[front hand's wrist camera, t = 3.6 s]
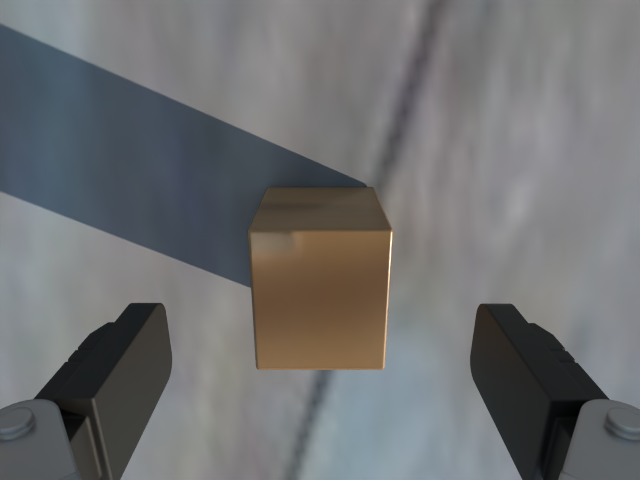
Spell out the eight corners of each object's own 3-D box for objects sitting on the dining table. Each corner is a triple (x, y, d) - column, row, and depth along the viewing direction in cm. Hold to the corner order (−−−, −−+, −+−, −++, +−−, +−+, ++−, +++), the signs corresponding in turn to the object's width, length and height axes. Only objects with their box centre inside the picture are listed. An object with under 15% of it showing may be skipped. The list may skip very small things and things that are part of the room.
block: (369, 297, 18) (384, 371, 14) (271, 297, 18) (255, 371, 14) (373, 186, 17) (393, 229, 12) (266, 186, 17) (246, 229, 12)
